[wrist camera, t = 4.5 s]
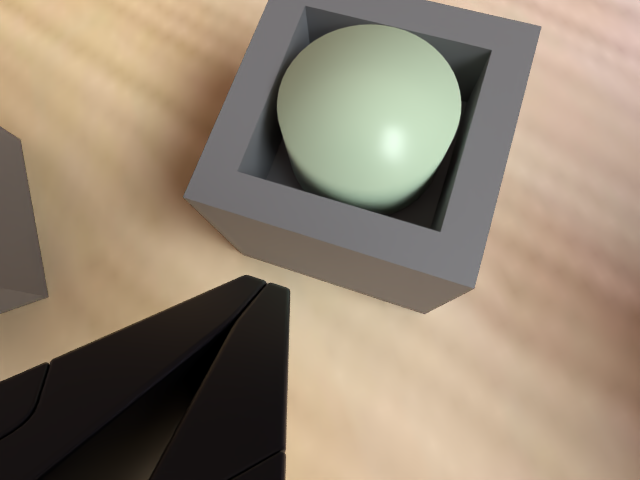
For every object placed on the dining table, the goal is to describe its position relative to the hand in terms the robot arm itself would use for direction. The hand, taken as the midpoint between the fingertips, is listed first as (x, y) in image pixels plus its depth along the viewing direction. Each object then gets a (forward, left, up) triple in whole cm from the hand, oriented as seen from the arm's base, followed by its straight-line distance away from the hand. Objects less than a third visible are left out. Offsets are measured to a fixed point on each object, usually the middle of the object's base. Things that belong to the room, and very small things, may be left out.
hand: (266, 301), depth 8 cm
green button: (+6, -3, -7) cm, 10 cm away
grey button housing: (+6, -3, -13) cm, 14 cm away
